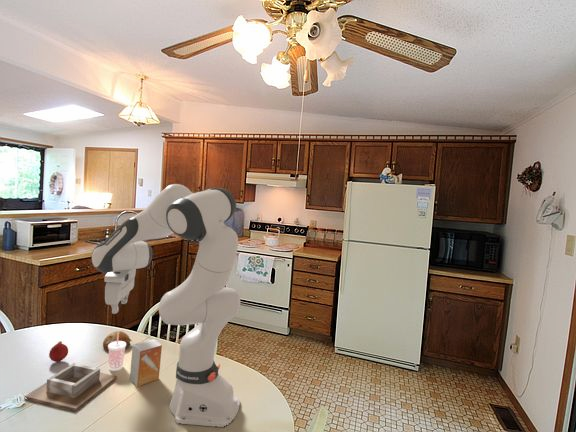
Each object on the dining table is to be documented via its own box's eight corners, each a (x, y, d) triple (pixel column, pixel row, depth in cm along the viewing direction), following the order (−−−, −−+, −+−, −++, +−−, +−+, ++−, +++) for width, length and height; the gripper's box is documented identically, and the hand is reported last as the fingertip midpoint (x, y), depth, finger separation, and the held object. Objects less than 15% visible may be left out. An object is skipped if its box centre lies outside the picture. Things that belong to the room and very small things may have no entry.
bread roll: (117, 347, 142) (111, 330, 142) (137, 341, 141) (131, 324, 141) (101, 358, 133) (95, 340, 133) (123, 352, 131) (116, 333, 131)
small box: (136, 387, 111) (139, 351, 110) (129, 379, 115) (132, 344, 114) (159, 379, 117) (162, 344, 116) (151, 371, 121) (154, 338, 120)
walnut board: (116, 378, 115) (117, 365, 114) (75, 411, 97) (76, 395, 97) (72, 369, 118) (73, 355, 117) (24, 399, 100) (25, 383, 99)
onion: (57, 367, 117) (58, 346, 117) (44, 364, 118) (45, 343, 118) (71, 360, 123) (72, 339, 123) (58, 356, 124) (59, 336, 124)
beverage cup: (113, 373, 117) (116, 336, 116) (102, 368, 120) (105, 332, 119) (128, 366, 123) (130, 331, 122) (117, 361, 125) (120, 326, 124)
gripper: (123, 264, 128) (120, 297, 129) (102, 278, 108) (99, 318, 109) (139, 265, 129) (137, 298, 130) (122, 279, 109) (119, 319, 110)
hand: (119, 307), depth 120 cm, fingers open, 8 cm apart
